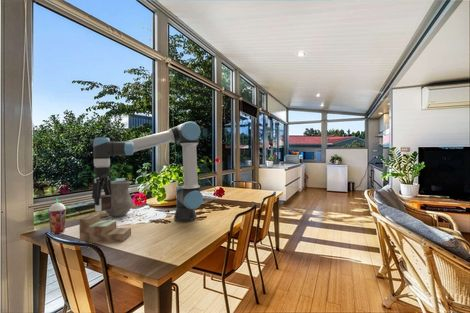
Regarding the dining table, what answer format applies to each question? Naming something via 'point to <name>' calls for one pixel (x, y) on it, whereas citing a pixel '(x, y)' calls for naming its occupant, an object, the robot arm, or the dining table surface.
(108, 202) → the box
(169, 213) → the dining table surface
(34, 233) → the dining table surface
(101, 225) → the stepped block
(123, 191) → the vase
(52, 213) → the smoothie
